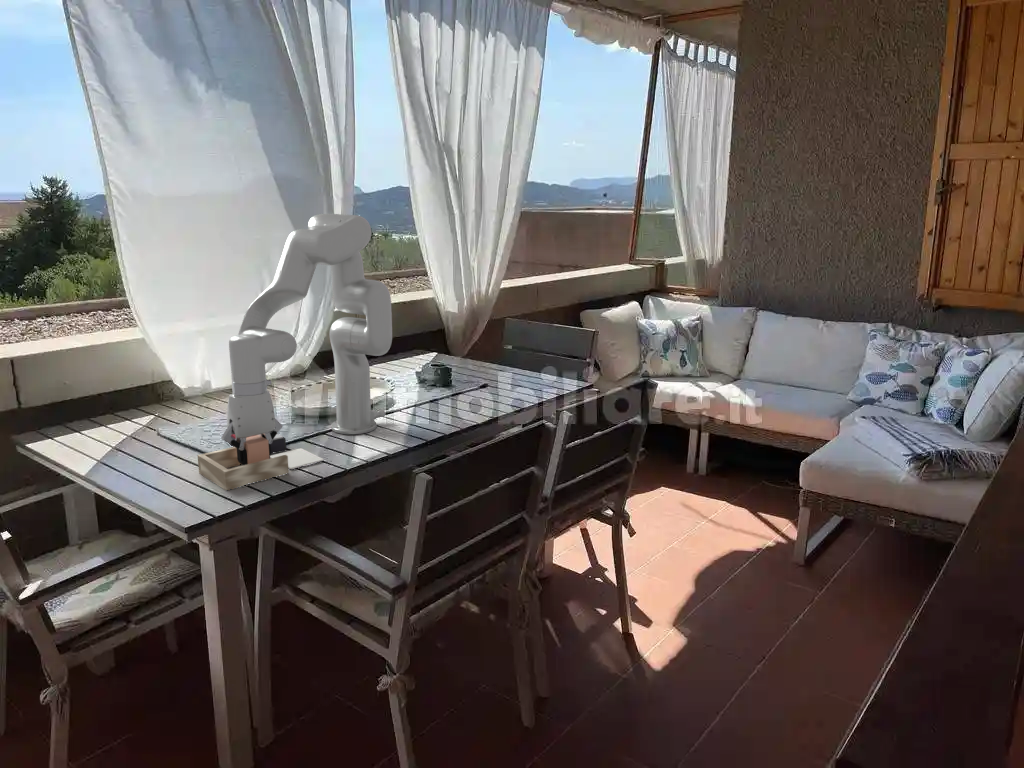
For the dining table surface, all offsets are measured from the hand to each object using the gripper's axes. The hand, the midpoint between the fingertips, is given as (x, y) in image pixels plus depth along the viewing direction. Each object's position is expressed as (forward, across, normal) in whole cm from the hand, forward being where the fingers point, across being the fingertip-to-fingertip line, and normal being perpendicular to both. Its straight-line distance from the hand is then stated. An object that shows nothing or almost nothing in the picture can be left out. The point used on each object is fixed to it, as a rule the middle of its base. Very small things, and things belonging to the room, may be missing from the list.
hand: (254, 460), depth 175 cm
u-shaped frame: (+3, +2, 0) cm, 3 cm away
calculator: (+3, -8, -16) cm, 18 cm away
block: (+1, 0, 0) cm, 1 cm away
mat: (+3, -11, 0) cm, 11 cm away
